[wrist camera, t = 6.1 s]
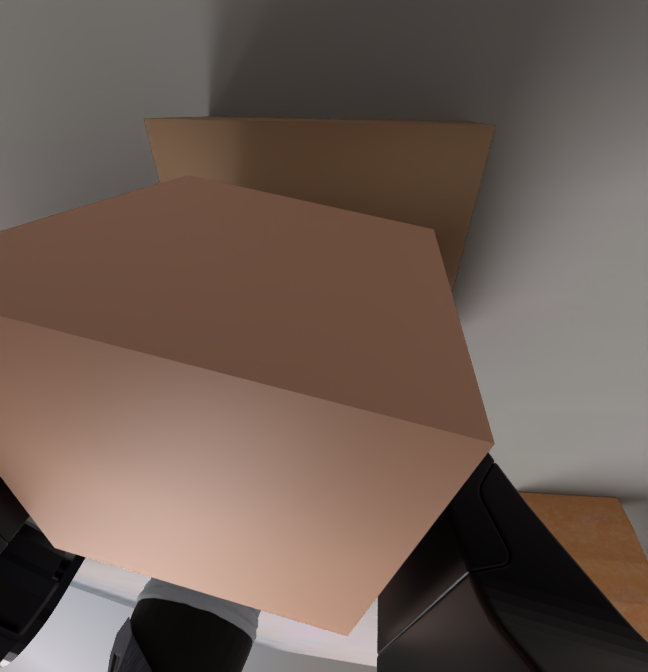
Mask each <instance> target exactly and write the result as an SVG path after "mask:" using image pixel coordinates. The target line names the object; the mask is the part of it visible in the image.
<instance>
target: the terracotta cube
mask: <svg viewBox="0 0 648 672" xmlns="http://www.w3.org/2000/svg"><path fill="white" fill-rule="evenodd" d="M494 444H495V443H494V440H493V436H492V433H491V429H490V426H489V422H488V419H487V415H486V412H485V408H484V405H483V401H482V398H481V394H480V391H479V387H478V384H477V380H476V376H475V373H474V369H473V366H472V362H471V359H470V355H469V352H468V348H467V345H466V341H465V338H464V334H463V331H462V327H461V324H460V320H459V317H458V313H457V310H456V306H455V303H454V299H453V295H452V292H451V288H450V285H449V281H448V278H447V274H446V271H445V267H444V264H443V260H442V257H441V253H440V250H439V246H438V243H437V239H436V236H435V232H434V229H430V228H425V227H421V226H416V225H412V224H407V223H403V222H398V221H394V220H389V219H385V218H380V217H376V216H371V215H366V214H362V213H357V212H353V211H348V210H344V209H339V208H335V207H330V206H326V205H321V204H317V203H312V202H308V201H303V200H299V199H294V198H290V197H285V196H281V195H276V194H272V193H267V192H263V191H258V190H254V189H249V188H244V187H240V186H235V185H231V184H226V183H222V182H217V181H213V180H208V179H204V178H199V177H195V176H190V175H185V176H182V177H179V178H175V179H172V180H169V181H165V182H162V183H159V184H155V185H152V186H149V187H145V188H142V189H139V190H136V191H132V192H129V193H126V194H122V195H119V196H116V197H112V198H109V199H106V200H102V201H99V202H96V203H92V204H89V205H86V206H83V207H79V208H76V209H73V210H69V211H66V212H63V213H59V214H56V215H53V216H49V217H46V218H43V219H39V220H36V221H33V222H30V223H26V224H23V225H20V226H16V227H13V228H10V229H6V230H3V231H0V477H1V478H2V479H3V480H4V482H5V483H6V484H7V486H8V487H9V488H10V490H11V491H12V492H13V494H14V495H15V496H16V498H17V499H18V500H19V502H20V503H21V504H22V506H23V507H24V508H25V510H26V511H27V512H28V513H29V515H30V516H31V517H32V519H33V520H34V521H35V523H36V524H37V525H38V527H39V528H40V529H41V531H42V532H43V533H44V535H45V536H46V537H47V539H48V540H49V541H50V542H51V544H52V545H53V546H54V548H57V549H60V550H63V551H66V552H70V553H73V554H76V555H80V556H83V557H86V558H90V559H93V560H96V561H100V562H103V563H106V564H109V565H113V566H116V567H119V568H123V569H126V570H129V571H133V572H136V573H139V574H143V575H146V576H149V577H153V578H156V579H159V580H162V581H166V582H169V583H172V584H176V585H179V586H182V587H186V588H189V589H192V590H196V591H199V592H202V593H205V594H209V595H212V596H215V597H219V598H222V599H225V600H229V601H232V602H235V603H239V604H242V605H245V606H249V607H252V608H255V609H258V610H262V611H265V612H268V613H272V614H275V615H278V616H282V617H285V618H288V619H292V620H295V621H298V622H302V623H305V624H308V625H311V626H315V627H318V628H321V629H325V630H328V631H331V632H335V633H338V634H341V635H345V636H348V635H349V634H350V632H351V631H352V630H353V628H354V627H355V626H356V624H357V623H358V622H359V620H360V619H361V618H362V617H363V615H364V614H365V613H366V611H367V610H368V609H369V607H370V606H371V605H372V603H373V602H374V601H375V600H376V598H377V597H378V596H379V594H380V593H381V592H382V590H383V589H384V588H385V586H386V585H387V584H388V583H389V581H390V580H391V579H392V577H393V576H394V575H395V573H396V572H397V571H398V569H399V568H400V567H401V566H402V564H403V563H404V562H405V560H406V559H407V558H408V556H409V555H410V554H411V552H412V551H413V550H414V549H415V547H416V546H417V545H418V543H419V542H420V541H421V539H422V538H423V537H424V535H425V534H426V533H427V531H428V530H429V529H430V528H431V526H432V525H433V524H434V522H435V521H436V520H437V518H438V517H439V516H440V514H441V513H442V512H443V511H444V509H445V508H446V507H447V505H448V504H449V503H450V501H451V500H452V499H453V497H454V496H455V495H456V494H457V492H458V491H459V490H460V488H461V487H462V486H463V484H464V483H465V482H466V480H467V479H468V478H469V477H470V475H471V474H472V473H473V471H474V470H475V469H476V467H477V466H478V465H479V463H480V462H481V461H482V460H483V458H484V457H485V456H486V454H487V453H488V452H489V450H490V449H491V448H492V446H493V445H494Z"/></svg>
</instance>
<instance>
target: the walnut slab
mask: <svg viewBox="0 0 648 672" xmlns="http://www.w3.org/2000/svg"><path fill="white" fill-rule="evenodd" d="M144 122H145V126H146V130H147V134H148V138H149V142H150V146H151V150H152V154H153V158H154V162H155V166H156V170H157V174H158V178H159V182H160V183H162V182H165V181H169V180H172V179H175V178H179V177H182V176H185V175H190V176H195V177H199V178H204V179H208V180H213V181H217V182H222V183H226V184H231V185H235V186H240V187H244V188H249V189H254V190H258V191H263V192H267V193H272V194H276V195H281V196H285V197H290V198H294V199H299V200H303V201H308V202H312V203H317V204H321V205H326V206H330V207H335V208H339V209H344V210H348V211H353V212H357V213H362V214H366V215H371V216H376V217H380V218H385V219H389V220H394V221H398V222H403V223H407V224H412V225H416V226H421V227H425V228H430V229H434V232H435V236H436V239H437V243H438V246H439V250H440V253H441V257H442V260H443V264H444V267H445V271H446V274H447V278H448V281H449V285H450V288H451V292H452V291H453V287H454V284H455V280H456V276H457V272H458V268H459V264H460V260H461V257H462V253H463V249H464V245H465V241H466V237H467V234H468V230H469V226H470V222H471V218H472V214H473V210H474V207H475V203H476V199H477V195H478V191H479V187H480V184H481V180H482V176H483V172H484V168H485V164H486V161H487V157H488V153H489V149H490V145H491V141H492V137H493V134H494V130H495V126H494V125H488V124H481V123H475V122H469V121H416V120H364V119H311V118H259V117H176V118H144Z"/></svg>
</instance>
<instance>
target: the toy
mask: <svg viewBox="0 0 648 672" xmlns="http://www.w3.org/2000/svg"><path fill="white" fill-rule="evenodd" d="M260 611H261V610H258V609H255V608H252V607H249V606H245V605H242V604H239V603H235V602H232V601H229V600H225V599H222V598H219V597H215V596H212V595H209V594H205V593H202V592H199V591H196V590H192V589H189V588H186V587H182V586H179V585H176V584H172V583H169V582H166V581H162V580H159V579H156V578H153V577H151V580H150V581H149V582H148V583H147V584H146V585H145V587H144V590H143V591H142V592H141V593H140V594H139V596H138V598H137V605H136V607H135V609H134V611H133V614H132V617H131V619H129V617H128V619H127V620H126V622H125V623H124V625H123V626H122V627H121V629H120V630H119V632H118V633H117V635H116V638H115V642H114V645H113V648H112V651H111V655H110V660H109V667H108V672H242V669H243V667H244V665H245V662H246V660H247V657H248V655H249V653H250V650H251V647H252V644H253V642H254V640H255V639H256V629H257V627H258V616H259V614H260Z"/></svg>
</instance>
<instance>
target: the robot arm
mask: <svg viewBox="0 0 648 672" xmlns="http://www.w3.org/2000/svg"><path fill="white" fill-rule="evenodd" d="M493 463H494V459H493V458H492V457H491V455H490V454H489V452H488V453H487V454H486V456H485V457H484V458H483V460H482V461H481V462H480V463H479V465H478V466H477V467H476V469H475V470H474V471H473V473H472V474H471V475H470V477H469V478H468V479H467V480H466V482H465V483H464V484H463V486H462V487H461V488H460V490H459V491H458V492H457V494H456V495H455V496H454V497H453V499H452V500H451V501H450V503H449V504H448V505H447V507H446V508H445V509H444V511H443V512H442V513H441V514H440V516H439V517H438V518H437V520H436V521H435V522H434V524H433V525H432V526H431V528H430V529H429V530H428V531H427V533H426V534H425V535H424V537H423V538H422V539H421V541H420V542H419V543H418V545H417V546H416V547H415V549H414V550H413V551H412V552H411V554H410V555H409V556H408V558H407V559H406V560H405V562H404V563H403V564H402V566H401V567H400V568H399V569H398V571H397V572H396V573H395V575H394V576H393V577H392V579H391V580H390V581H389V583H388V584H387V585H386V586H385V588H384V589H383V590H382V592H381V593H380V594H379V596H378V639H377V653H378V657H377V672H648V642H647V641H646V640H645V639H644V638H643V637H642V636H641V635H640V634H639V633H638V632H637V631H636V630H635V629H634V628H633V627H632V626H631V625H630V623H629V622H628V621H627V620H626V619H625V618H624V617H623V616H622V615H621V613H620V612H619V611H618V610H617V609H616V608H615V606H614V605H613V604H612V603H611V602H610V601H609V600H608V598H607V597H606V596H605V595H604V594H603V593H602V591H601V590H600V589H599V588H598V587H597V586H596V584H595V583H594V582H593V581H592V580H591V579H590V577H589V576H588V575H587V574H586V573H585V572H584V570H583V569H582V568H581V567H580V566H579V565H578V563H577V562H576V561H575V560H574V559H573V558H572V556H571V555H570V554H569V553H568V552H567V551H566V549H565V548H564V547H563V546H562V545H561V544H560V542H559V541H558V540H557V539H556V538H555V537H554V535H553V534H552V533H551V532H550V531H549V529H548V528H547V527H546V526H545V525H544V523H543V522H542V521H541V520H540V519H539V517H538V516H537V515H536V514H535V513H534V511H533V510H532V509H531V508H530V507H529V505H528V504H527V503H526V501H525V500H524V499H523V498H522V496H521V495H520V494H519V492H518V491H517V490H516V488H515V487H514V486H513V485H512V483H511V482H510V481H509V479H508V478H507V477H506V475H505V474H504V473H503V471H502V470H501V469H500V467H499V466H498V464H496V463H494V464H493ZM84 559H85V557H83V556H80V555H76V554H73V553H70V552H66V551H63V550H60V549H57V548H54V546H53V545H52V544H51V542H50V541H49V540H48V539H47V537H46V536H45V535H44V533H43V532H42V531H41V529H40V528H39V527H38V525H37V524H36V523H35V521H34V520H33V519H32V517H31V516H30V515H29V513H28V512H27V511H26V510H25V508H24V507H23V506H22V504H21V503H20V502H19V500H18V499H17V498H16V496H15V495H14V494H13V492H12V491H11V490H10V488H9V487H8V486H7V484H6V483H5V482H4V480H3V479H2V478H1V477H0V667H1V668H2V667H5V666H6V665H7V664H9V663H10V662H11V661H13V660H14V659H15V658H16V657H17V656H18V655H19V654H20V653H21V652H22V651H23V649H25V647H26V646H27V645H28V644H29V643H30V642H31V640H32V639H33V638H34V637H35V636H36V634H37V633H38V632H39V630H40V629H41V628H42V627H43V625H44V624H45V623H46V621H47V620H48V618H49V616H50V615H51V614H52V612H53V611H54V609H55V608H56V606H57V604H58V603H59V601H60V599H61V598H62V596H63V595H64V593H65V591H66V590H67V588H68V586H69V585H70V583H71V581H72V579H73V578H74V576H75V574H76V573H77V571H78V569H79V568H80V566H81V564H82V562H83V561H84Z"/></svg>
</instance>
